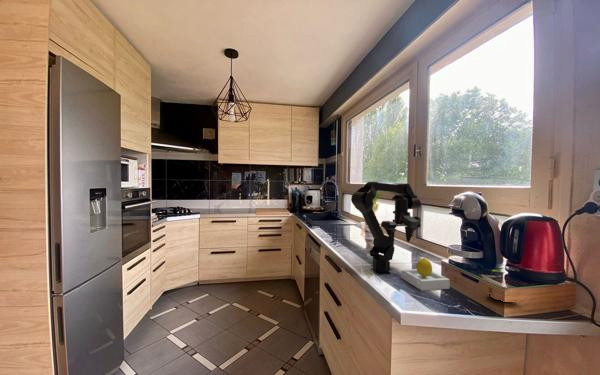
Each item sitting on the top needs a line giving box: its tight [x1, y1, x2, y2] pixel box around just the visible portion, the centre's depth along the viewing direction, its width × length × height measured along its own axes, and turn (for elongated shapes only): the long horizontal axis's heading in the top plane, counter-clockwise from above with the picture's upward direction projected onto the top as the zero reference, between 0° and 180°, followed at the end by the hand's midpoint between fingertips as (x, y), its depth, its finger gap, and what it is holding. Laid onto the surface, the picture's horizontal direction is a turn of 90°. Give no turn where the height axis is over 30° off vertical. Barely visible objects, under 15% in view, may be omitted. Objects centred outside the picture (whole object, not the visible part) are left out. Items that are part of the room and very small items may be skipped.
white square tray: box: [401, 268, 451, 291], centre depth 93 cm, size 12×12×4 cm
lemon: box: [416, 257, 433, 278], centre depth 93 cm, size 6×6×8 cm
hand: (400, 242), depth 111 cm, fingers open, 9 cm apart
